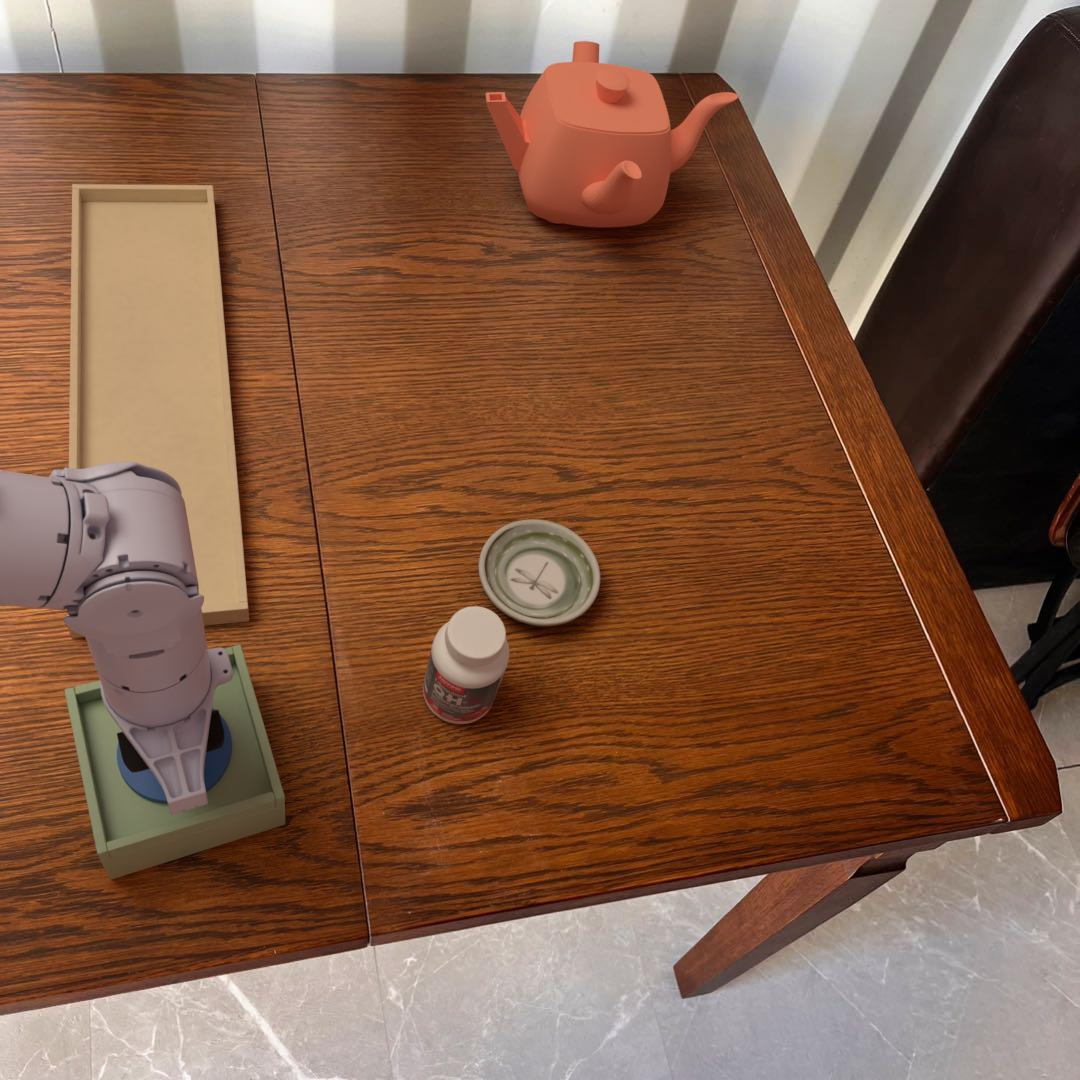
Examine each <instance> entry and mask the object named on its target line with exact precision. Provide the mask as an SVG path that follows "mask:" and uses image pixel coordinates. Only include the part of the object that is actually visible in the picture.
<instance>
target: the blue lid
mask: <svg viewBox="0 0 1080 1080" xmlns="http://www.w3.org/2000/svg"><path fill="white" fill-rule="evenodd" d="M214 710H215V709H214V708H212V711H214ZM220 717H221V721H222V725H223V729H224V734H225V737H224V743H223V746H222V747H221V748H219V749H216V750H213V751H210V752H207V753H206V756H205V763H204V783H205V789H206V792H207V791H209V790H210V789H211V788H212V787H214V786H215V785H216V784H217V783H218V781H219V780H220V779H221V778H222V776H223V775H224V773H225V771H226V770H227V768H228V765H229V763H230V759H231V754H232V740H231V734H230V731H229V728H228V725H227V724H226V722H225V720H224V719H223V717H222V716H221V715H220ZM117 762H118V767H119V770H120V773H121V775H122V777H123V779H124V781H125V782H126V784H127V785H128V786H129V787H130V788H131V790H133V791H134V792H135V793H136V794H138V795H139V796H141V797H143V798H145V799H147V800H150V801H153V802H157V803H163V804H168V802H167V799H166V795H165V793H164V790H163V788H162V786H161V784H160V783H159V781H158V780H157V778H156V777H155V775H154V774H153V773H152V771H151V770H150V769H147V770H144V771H140V772H135V773H133V772H131V771H130V770H129V769H128V768H127V767H126V765H125V764H124V762H123V759H122V755H121V751H120V746H119V742H118V747H117Z"/></svg>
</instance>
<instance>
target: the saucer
mask: <svg viewBox="0 0 1080 1080" xmlns="http://www.w3.org/2000/svg"><path fill="white" fill-rule="evenodd" d="M477 567H478V568H477V571H478V577H479V582H480V584H481V587H482V589H483V592H484V593H485V595H486V596H487V598H488V600H490V601H491V603H492V604H493V605H494V607H495V608H496V609H498V610H499V611H501V612H502V613H503V614H504V615H506V616H507V617H510V618H511V619H513V620H515V621H517V622H520V623H522V624H527V625H530V626H536V627H555V626H561V625H564V624H567V623H570V622H572V621H574V620H576V619H578V618H579V617H581V616H582V615H584V614H585V613H586V612H587V611H588V610H589V609H590V608H591V607H592V605H593V604H594V602H595V601H596V599H597V597H598V594H599V591H600V586H601V569H600V566H599V562H598V559H597V557H596V555H595V553H594V552H593V550H592V548H591V547H590V546H589V545H588V543H587V542H586V541H585V540H584V539H583V538H582V536H580V535H578V534H577V533H576V532H575V531H573V530H571V529H570V528H568V527H566V526H564V525H562V524H559V523H557V522H554V521H550V520H544V519H535V518H533V519H532V518H531V519H530V518H529V519H522V520H516V521H513V522H509V523H508V524H505V525H503V526H501V527H500V528H499V529H497V530H496V531H494V532H493V533H492V534H491V535H490V536H489V538H488V539H486V541H485V542H484V544H483V547H482V549H481V550H480V554H479V558H478V566H477Z"/></svg>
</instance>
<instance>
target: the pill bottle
mask: <svg viewBox="0 0 1080 1080" xmlns="http://www.w3.org/2000/svg"><path fill="white" fill-rule="evenodd" d="M506 631H507V630H506V627H505V624H504V622H503V620H502V619H501V617H499V615H498V614H497V613H496V612H494V611H493V610H491V609H489V608H486V607H484V606H477V605H471V606H467V607H463V608H461V609H459V610H458V611H457V612H455V613H454V614H453V615H452V616H451V617H450V620H448V621H447V622H446V623H444V624H443V625H442V626H441V627H440V628H439V629H438V631H437V632H436V634H435V636H434V638H433V641H432V644H431V648H430V653H429V658H428V661H427V665H426V669H425V673H424V678H423V683H422V694H423V699H424V702H425V704H426V706H427V707H428V709H429V710H430V711H431V712H432V713H433V715H434V716H436V717H437V718H439V719H440V720H442V721H444V722H447V723H449V724H454V725H464V724H465V725H466V724H467V725H469V724H471V723H473V722H476V721H478V720H480V719H481V718H483V717H485V716H486V715H487V714H488V712H489V711H490V709H491V708H492V706H493V704H494V701H495V699H496V697H497V695H498V691H499V688H500V686H501V683H502V680H503V678H504V675H505V673H506V670H507V668H508V666H509V661H510V646H509V645H510V644H509V642H508V639H507V632H506Z"/></svg>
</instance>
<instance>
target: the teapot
mask: <svg viewBox="0 0 1080 1080" xmlns="http://www.w3.org/2000/svg"><path fill="white" fill-rule="evenodd" d="M571 60H572V61H563V62H557V63H552V64H550V65H547V66H546V68H545V69H544V70H543V72H542V73H541V75H540V76H539V78H538V79H537V81H536V82H535V84H534V85H533V87H532V89H531V91H530V92H529V94H528V96H527V98H526V100H525V102H524V104H523V107H522V109H521V113H520V114H519V113H518V112H517V110H516V109H515V107H514V106H513V105H512V103H511V101H510V100H509V99H508V97H507V96H506V92H505V91H495V92H491V91H490V92H485V101H486V107H487V109H488V111H489V114H490V116H491V118H492V120H493V123H494V125H495V127H496V129H497V133H498V134H499V136H500V139H501V141H502V144H503V146H504V149H505V151H506V154H507V156H508V158H509V160H510V162H511V165H512V167H513V169H514V171H517V176H518V180H519V184H520V187H521V192H522V195H523V198H524V200H525V203H526V206H527V208H528V210H529V212H531V213H532V215H534V216H536V217H538V218H540V219H543V220H547V222H550V223H553V224H556V225H557V224H558V225H559V224H565V225H572V226H577V227H587V228H623V227H624V228H625V227H633V226H638V225H642V224H645V223H646V222H649V221H650V220H651V219H653V217H655V215H656V214H657V213H658V212H659V211H660V210H661V209H662V207H663V205H664V202H665V199H666V196H667V192H668V189H669V188H668V187H669V182H670V177H671V174H672V173H674V172H675V171H677V170H678V169H679V168H681V167H683V166H684V165H685V163H687V161H688V160H690V158H691V156H692V155H693V153H694V152H695V149H696V147H697V145H698V144H699V141H700V140H701V137H702V135H703V132H704V130H705V128H706V126H707V124H708V123H709V121H710V120H711V119H712V117H713V116H714V115H715V114H716V113H717V112H718V111H719V110H720V109H722V108H724V107H726V106H727V105H730V104H732V103H733V102H735V101H737V100H738V98H739V95H738V94H737V93H735V92H731V91H722V92H721V91H720V92H716V93H712V94H710V95H707V96H706V97H704V98H703V99H701V100H700V101H699V102H698V103H697V104H695V106H694V107H693V108H692V109H691V111H690V112H689V114H687V116H686V117H685V119H684V120H683V121H682V122H681V123H680V124H679V125H678V126H676V127H674V128H673V129H671V119H670V116H669V112H668V109H667V105H666V101H665V99H664V95H663V92H662V90H661V87H660V85H659V83H658V81H657V79H656V77H655V76H654V75H653V74H651V73H649V72H647V71H645V70H641V69H638V68H634V67H629V66H624V65H618V64H611V63H602V62H600V43H598V42H593V41H588V40H587V41H586V40H581V41H575V42H573V47H572V59H571Z"/></svg>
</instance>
